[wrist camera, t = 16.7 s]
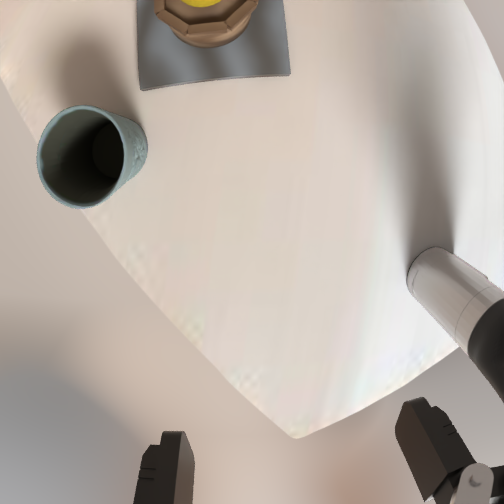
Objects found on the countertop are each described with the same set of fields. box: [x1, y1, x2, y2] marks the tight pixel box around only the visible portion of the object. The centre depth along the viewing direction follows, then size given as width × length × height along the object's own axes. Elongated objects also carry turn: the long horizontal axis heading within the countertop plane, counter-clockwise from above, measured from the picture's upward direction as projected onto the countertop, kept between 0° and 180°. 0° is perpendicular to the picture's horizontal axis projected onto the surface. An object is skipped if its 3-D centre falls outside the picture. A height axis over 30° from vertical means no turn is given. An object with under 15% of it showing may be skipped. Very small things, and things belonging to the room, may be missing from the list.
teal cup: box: [37, 105, 148, 209], centre depth 31 cm, size 10×10×12 cm
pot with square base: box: [137, 0, 291, 91], centre depth 27 cm, size 18×18×9 cm
